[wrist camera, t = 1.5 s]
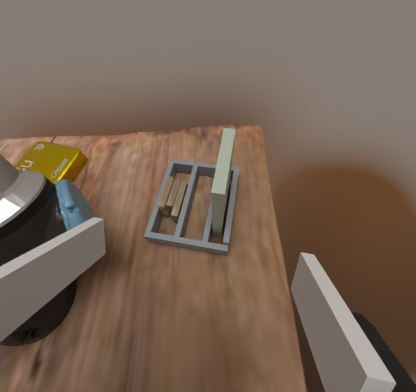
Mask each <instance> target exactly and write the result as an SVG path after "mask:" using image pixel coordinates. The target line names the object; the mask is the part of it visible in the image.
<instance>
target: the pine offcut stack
mask: <svg viewBox="0 0 416 392" xmlns="http://www.w3.org/2000/svg"><path fill="white" fill-rule="evenodd" d="M187 187H188V185H187V182H182V181H181V180H177V179H174V177H171V176H168V177H167V179H166V182H165V185H164V188H163V191H162V194H161V197H160V200H159V203H158V208H159V209H160V211H161V213H162V214H163V216H164V217H170V215H171V216H172V218H173V220H174V222H176V223H178V219H179V216H180V212H181V209H182V205H183V201H184V198H185V194H186V190H187Z"/></svg>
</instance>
